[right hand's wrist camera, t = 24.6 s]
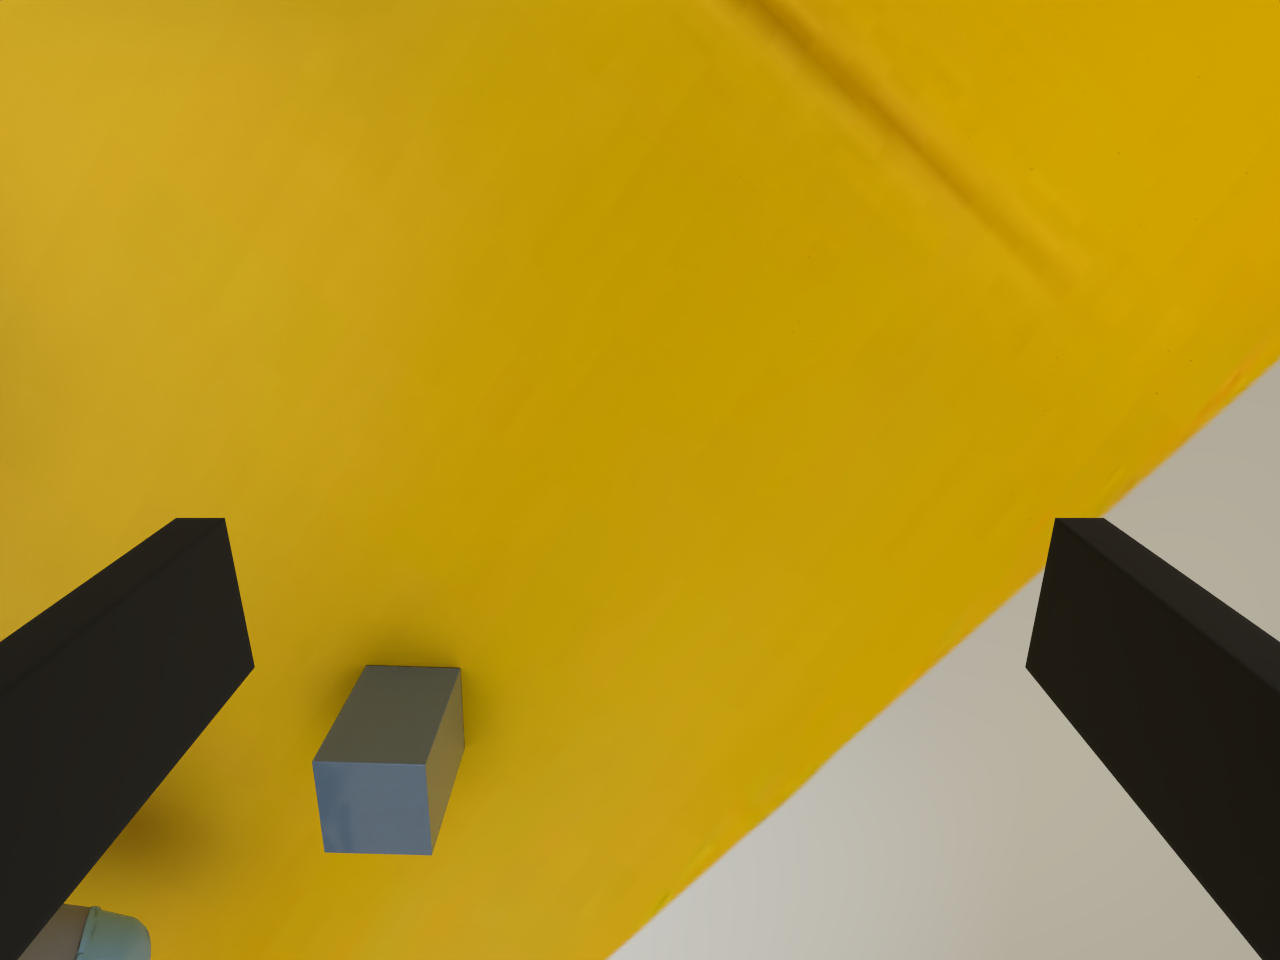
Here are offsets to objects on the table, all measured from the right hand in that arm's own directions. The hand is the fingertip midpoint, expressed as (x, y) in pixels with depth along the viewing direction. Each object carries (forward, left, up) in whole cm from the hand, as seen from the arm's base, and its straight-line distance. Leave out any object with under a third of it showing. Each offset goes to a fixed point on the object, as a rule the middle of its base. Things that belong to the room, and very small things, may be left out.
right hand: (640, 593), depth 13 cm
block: (-1, -36, -39) cm, 54 cm away
